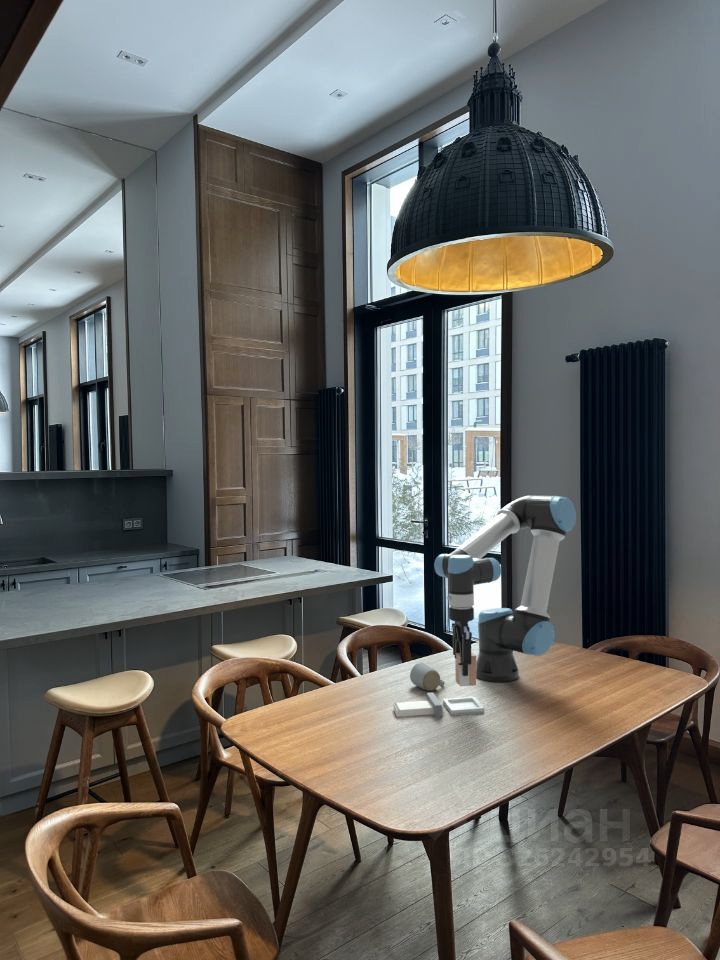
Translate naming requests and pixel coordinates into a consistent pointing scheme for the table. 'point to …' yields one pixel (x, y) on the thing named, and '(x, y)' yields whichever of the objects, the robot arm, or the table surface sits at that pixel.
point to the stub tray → (463, 705)
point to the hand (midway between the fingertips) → (462, 683)
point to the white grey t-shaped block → (420, 707)
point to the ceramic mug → (425, 677)
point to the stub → (471, 669)
